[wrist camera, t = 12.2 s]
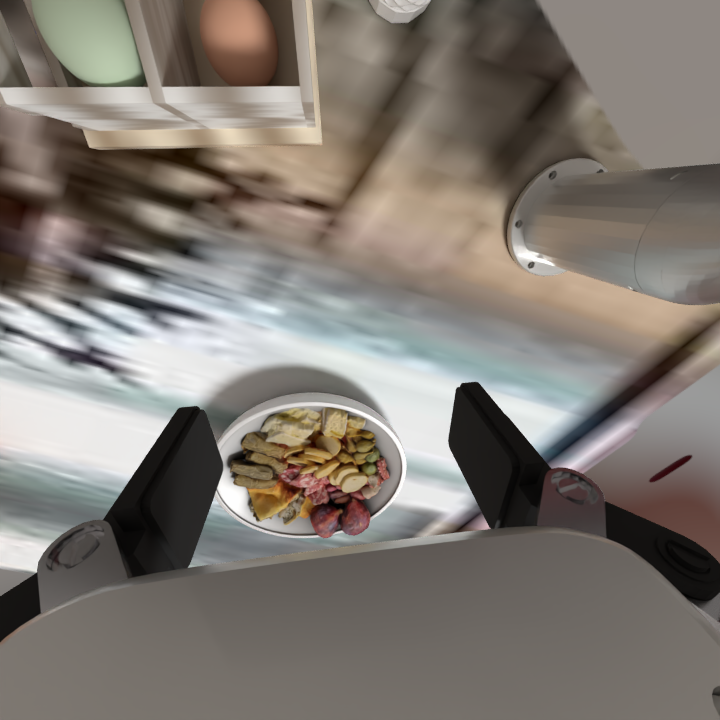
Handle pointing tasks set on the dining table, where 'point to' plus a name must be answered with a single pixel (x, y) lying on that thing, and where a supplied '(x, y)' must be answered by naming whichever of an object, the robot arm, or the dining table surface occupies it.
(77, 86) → the grey divided rectangular box
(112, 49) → the sage ball
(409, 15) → the white cup
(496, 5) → the dining table surface
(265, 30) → the terracotta ball
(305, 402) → the bowl
